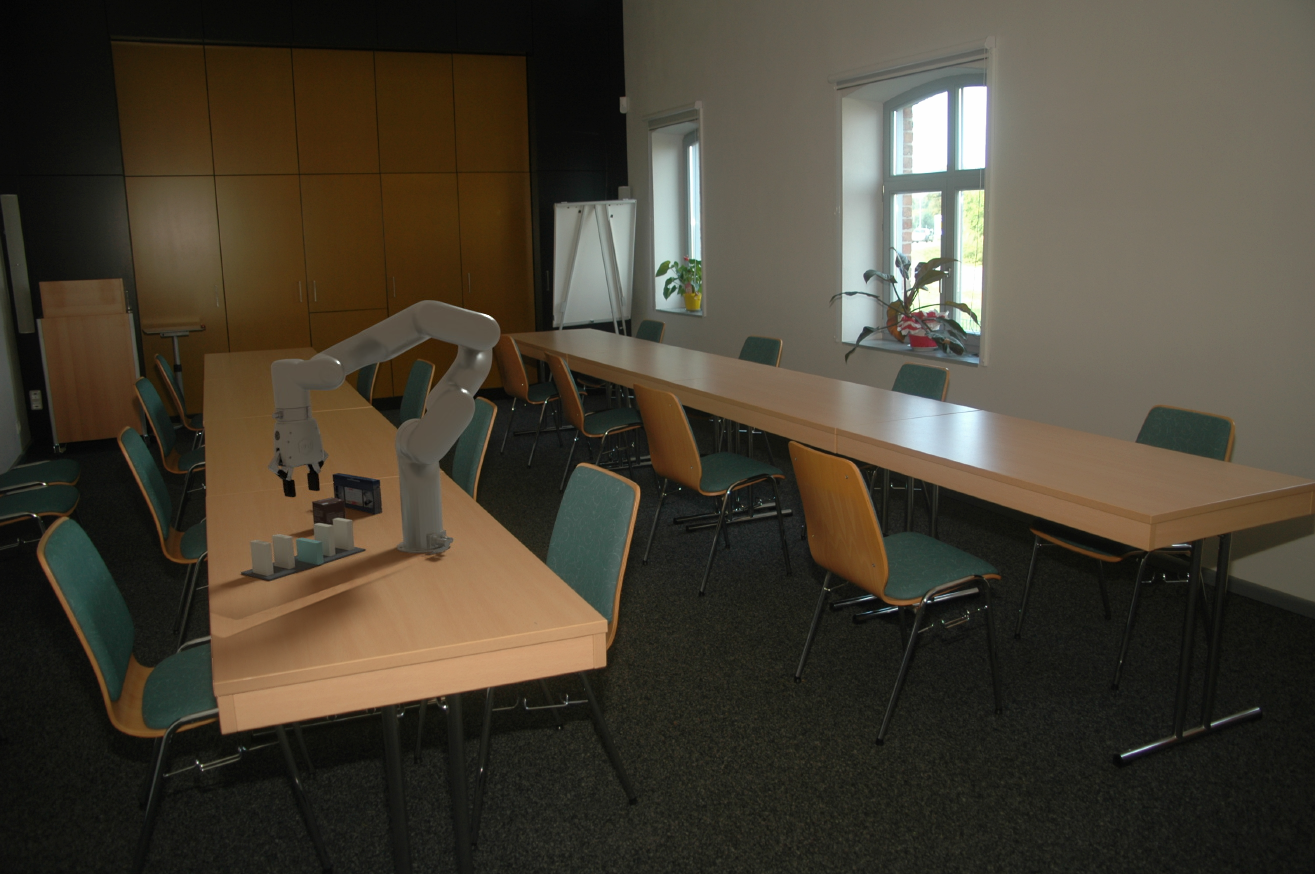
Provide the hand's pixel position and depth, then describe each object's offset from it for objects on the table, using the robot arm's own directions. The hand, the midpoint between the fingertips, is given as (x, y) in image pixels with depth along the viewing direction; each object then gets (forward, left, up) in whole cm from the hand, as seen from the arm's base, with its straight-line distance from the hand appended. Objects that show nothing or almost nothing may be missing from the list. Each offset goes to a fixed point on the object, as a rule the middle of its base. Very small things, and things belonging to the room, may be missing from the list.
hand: (302, 492), depth 210 cm
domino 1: (0, +11, -16) cm, 19 cm away
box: (+20, -23, -16) cm, 35 cm away
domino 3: (0, -5, -16) cm, 17 cm away
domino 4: (0, -11, -16) cm, 19 cm away
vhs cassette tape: (+28, -39, -17) cm, 51 cm away
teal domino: (+2, +1, -13) cm, 13 cm away
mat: (0, 0, -16) cm, 16 cm away
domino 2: (0, +6, -16) cm, 17 cm away
